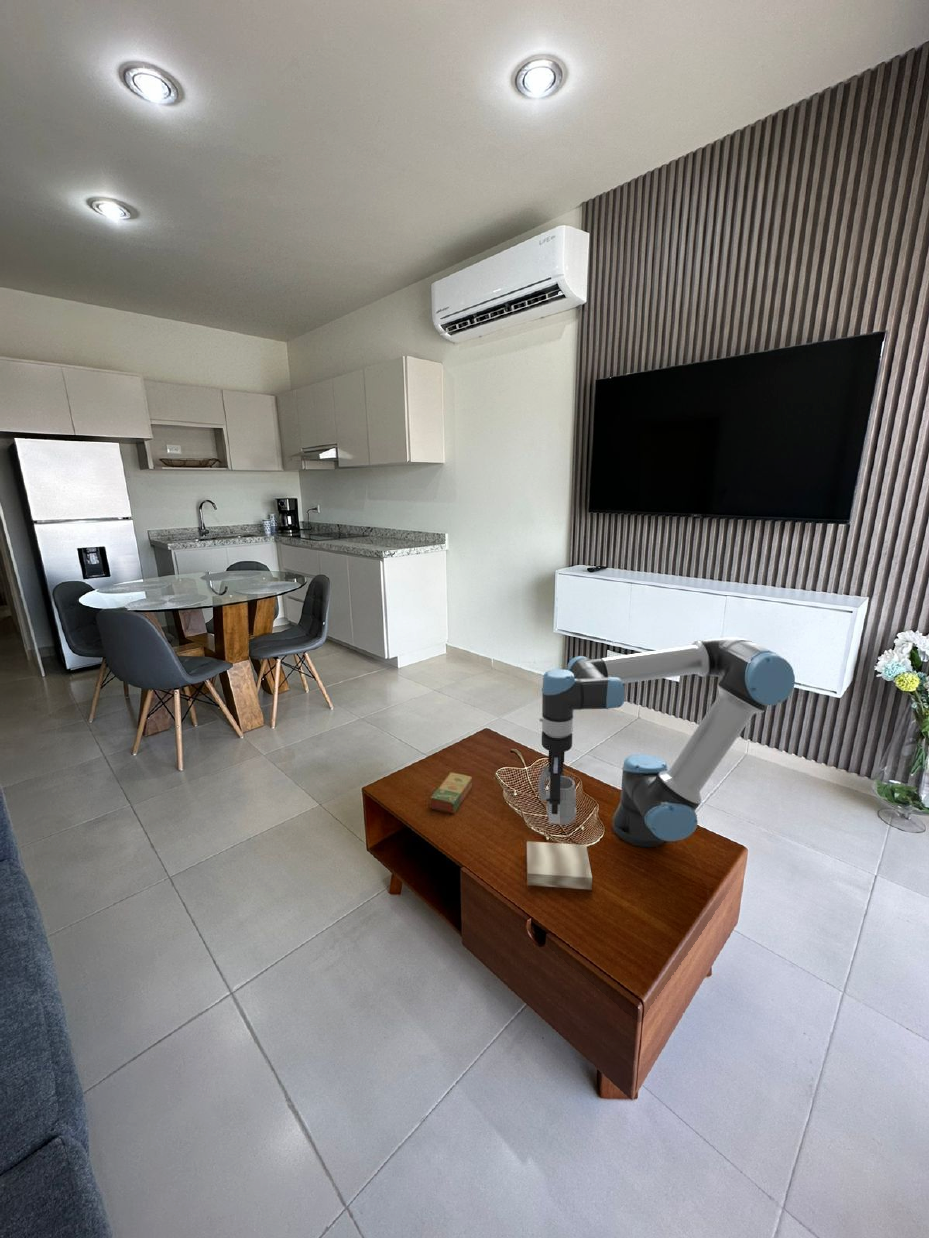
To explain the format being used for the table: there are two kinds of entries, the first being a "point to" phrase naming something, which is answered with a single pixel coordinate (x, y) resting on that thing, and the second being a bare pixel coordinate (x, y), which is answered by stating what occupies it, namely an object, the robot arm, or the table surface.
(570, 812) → the mug
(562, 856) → the cream rectangular block
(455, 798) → the carton
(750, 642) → the robot arm
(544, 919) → the table surface
